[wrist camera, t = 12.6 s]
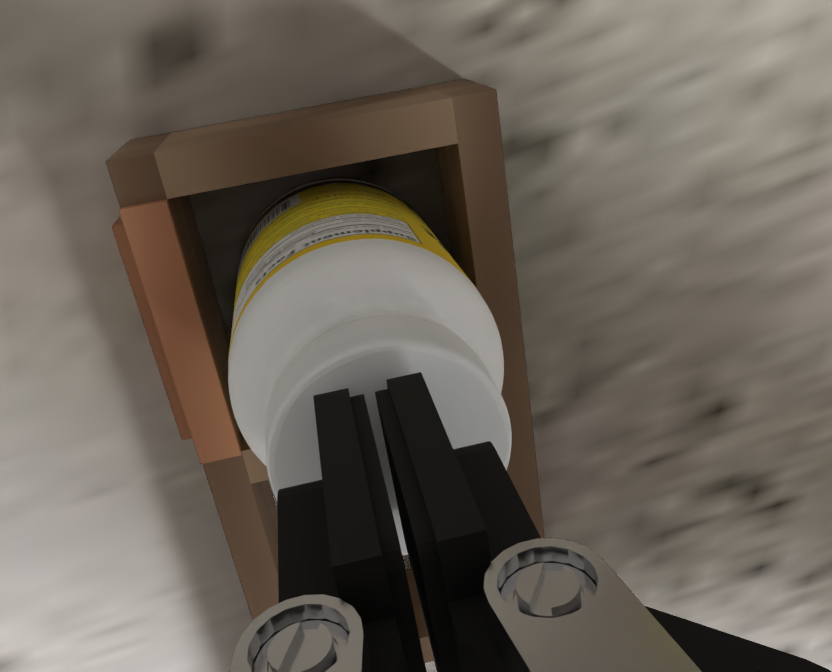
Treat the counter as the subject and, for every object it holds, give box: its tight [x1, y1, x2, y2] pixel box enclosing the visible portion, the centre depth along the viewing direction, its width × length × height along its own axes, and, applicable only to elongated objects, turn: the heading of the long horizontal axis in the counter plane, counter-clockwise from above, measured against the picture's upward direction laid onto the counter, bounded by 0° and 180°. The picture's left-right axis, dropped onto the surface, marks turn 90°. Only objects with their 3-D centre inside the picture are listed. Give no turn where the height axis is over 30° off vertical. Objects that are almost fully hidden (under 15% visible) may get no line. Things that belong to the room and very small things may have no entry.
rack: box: [106, 79, 544, 663], centre depth 23 cm, size 9×24×3 cm, turn 9°
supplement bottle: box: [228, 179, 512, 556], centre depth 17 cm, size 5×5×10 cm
